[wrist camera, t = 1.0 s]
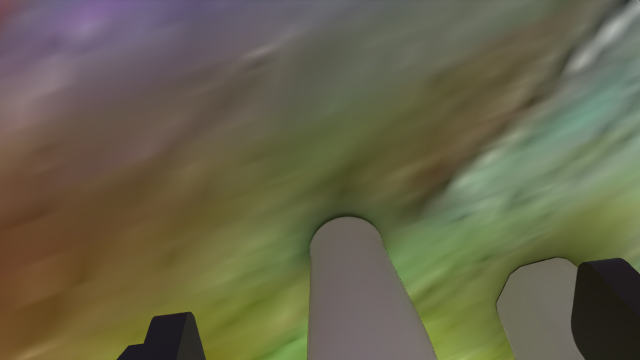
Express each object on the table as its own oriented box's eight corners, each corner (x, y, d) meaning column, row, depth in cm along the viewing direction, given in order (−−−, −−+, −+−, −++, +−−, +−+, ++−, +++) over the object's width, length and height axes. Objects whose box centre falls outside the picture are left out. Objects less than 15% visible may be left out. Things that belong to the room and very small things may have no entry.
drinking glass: (317, 192, 37) (341, 349, 23) (406, 218, 38) (477, 379, 24) (286, 270, 39) (291, 452, 26) (370, 291, 41) (417, 474, 27)
